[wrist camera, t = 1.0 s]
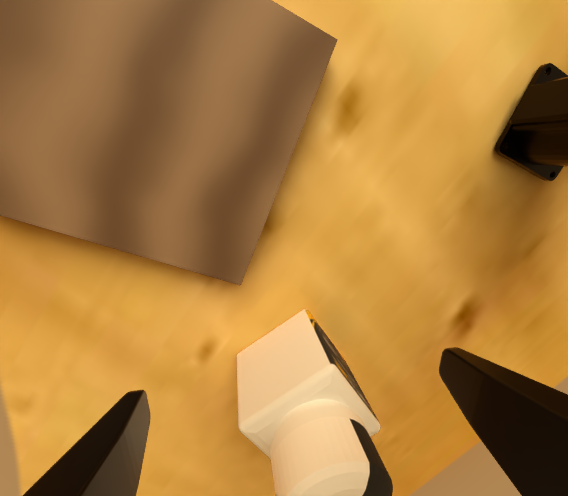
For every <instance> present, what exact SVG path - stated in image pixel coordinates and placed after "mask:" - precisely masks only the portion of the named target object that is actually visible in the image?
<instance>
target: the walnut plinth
mask: <svg viewBox="0 0 568 496" xmlns="http://www.w3.org/2000/svg"><path fill="white" fill-rule="evenodd" d="M336 42H337V39H335V38H334V37H332V36H330V35H329V34H327V33H325V32H324V31H322V30H320V29H319V28H317V27H315V26H314V25H312V24H310V23H309V22H307V21H305V20H304V19H302V18H300V17H299V16H297V15H295V14H294V13H292V12H290V11H289V10H287V9H285V8H284V7H282V6H280V5H279V4H277V3H275V2H274V1H272V0H0V215H1V216H4V217H8V218H11V219H14V220H18V221H21V222H25V223H28V224H32V225H35V226H38V227H42V228H45V229H49V230H52V231H56V232H59V233H63V234H66V235H69V236H73V237H76V238H80V239H83V240H87V241H90V242H93V243H97V244H100V245H104V246H107V247H111V248H114V249H117V250H121V251H124V252H128V253H131V254H135V255H138V256H142V257H145V258H148V259H152V260H155V261H159V262H162V263H166V264H169V265H172V266H176V267H179V268H183V269H186V270H190V271H193V272H196V273H200V274H203V275H207V276H210V277H214V278H217V279H221V280H224V281H227V282H231V283H234V284H238V285H241V283H242V280H243V278H244V275H245V273H246V270H247V268H248V265H249V263H250V260H251V258H252V255H253V253H254V250H255V248H256V245H257V242H258V240H259V237H260V235H261V232H262V230H263V227H264V225H265V222H266V220H267V217H268V215H269V212H270V210H271V207H272V204H273V202H274V199H275V197H276V194H277V192H278V189H279V187H280V184H281V182H282V179H283V177H284V174H285V172H286V169H287V166H288V164H289V161H290V159H291V156H292V154H293V151H294V149H295V146H296V144H297V141H298V139H299V136H300V133H301V131H302V128H303V126H304V123H305V121H306V118H307V116H308V113H309V111H310V108H311V106H312V103H313V101H314V98H315V95H316V93H317V90H318V88H319V85H320V83H321V80H322V78H323V75H324V73H325V70H326V68H327V65H328V63H329V60H330V57H331V55H332V52H333V50H334V47H335V45H336Z"/></svg>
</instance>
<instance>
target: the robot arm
mask: <svg viewBox="0 0 568 496" xmlns="http://www.w3.org/2000/svg"><path fill="white" fill-rule="evenodd" d="M503 145H504V147H503ZM502 147H503V149H502ZM495 151H496V153H498V154H499V155H501V156H503V157H505V158H506V159H508V160H510V161H512V162H513V163H515V164H517V165H519V166H520V167H522V168H524V169H526V170H527V171H529V172H531V173H533V174H534V175H536V176H538V177H539V178H541V179H543V180H546V181H553V180H554V179H555V178H556V177H557V176H558V174H559V172H560V171H561V169H562V168H563V166H568V75H566V74H565V73H564V72H562V71H561V70H560V69H558V68H557V67H556V66H554V65H553V64H551V63H548V64H544V65H542V66H540V67H539V68H538V70H537V72H536V73H535V75H534V77H533V79H532V81H531V82H530V84H529V86H528V88H527V90H526V91H525V93H524V95H523V97H522V99H521V100H520V102H519V104H518V106H517V107H516V109H515V111H514V113H513V115H512V116H511V118H510V120H509V122H508V124H507V125H506V127H505V129H504V131H503V133H502V134H501V136H500V138H499V140H498V142H497V143H496V146H495ZM439 373H440V376H441V378H442V380H443V382H444V383H445V385H446V387H447V388H448V390H449V391H450V393H451V395H452V396H453V398H454V400H455V401H456V403H457V404H458V406H459V408H460V409H461V411H462V413H463V414H464V416H465V417H466V419H467V421H468V422H469V424H470V425H471V427H472V428H473V429H474V431H475V432H476V434H477V435H478V436H479V438H480V439H481V441H482V442H483V443H484V445H485V446H486V447H487V449H488V450H489V451H490V453H491V454H492V456H493V457H494V458H495V460H496V461H497V462H498V464H499V465H500V466H501V468H502V469H503V471H504V472H505V473H506V475H507V476H508V477H509V479H510V480H511V482H512V483H513V484H514V486H515V487H516V488H517V490H518V491H519V492H520V494H521V495H522V496H568V395H567V394H565V393H563V392H560V391H558V390H556V389H553V388H551V387H549V386H546V385H544V384H542V383H539V382H537V381H535V380H532V379H530V378H528V377H525V376H523V375H521V374H518V373H516V372H514V371H511V370H509V369H507V368H504V367H502V366H500V365H497V364H495V363H493V362H490V361H488V360H486V359H483V358H481V357H479V356H476V355H474V354H472V353H469V352H467V351H465V350H462V349H460V348H456V347H454V348H447V349H444V350H443V352H442V357H441V362H440V366H439ZM149 425H150V409H149V404H148V400H147V395H146V392H145V391H144V390H137V391H130V392H128V393H126V394H125V395H124V396H123V397H122V398H121V399H120V400H119V401H118V402H117V403H116V404H115V405H114V406H113V407H112V408H111V409H110V410H109V411H108V412H107V413H106V414H105V415H104V416H103V417H102V418H101V419H100V420H99V421H98V422H97V423H96V424H95V425H94V426H93V427H92V428H91V429H90V430H89V431H88V432H87V433H86V434H85V435H84V436H83V437H81V438H80V439H79V440H78V441H77V442H76V443H75V444H74V445H73V446H72V447H71V448H70V449H69V450H68V451H67V452H66V453H65V454H64V455H63V456H62V457H61V458H60V459H59V460H58V461H57V462H56V463H55V464H54V465H53V466H52V467H51V468H50V469H49V470H48V471H47V472H46V473H45V474H44V475H43V476H42V477H41V478H40V479H39V480H38V481H37V482H36V483H35V484H34V485H33V486H32V487H31V488H30V489H29V490H28V491H27V492H26V493H25V494H24V495H23V496H136V493H137V489H138V484H139V479H140V474H141V469H142V463H143V458H144V452H145V447H146V441H147V436H148V430H149Z"/></svg>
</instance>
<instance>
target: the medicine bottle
mask: <svg viewBox="0 0 568 496" xmlns="http://www.w3.org/2000/svg"><path fill="white" fill-rule="evenodd" d="M237 393H238V427H239V430H240V432H241V433H242V434H244V435H245V436H246V437H247V438H248V439H249V440H250V441H251V442H252V443H253V444H255V445H256V446H257V447H258V448H259V449H260V450H261V451H262V452H263V453H265V454H266V455H267V456H268V457H269V458H270V459H271V464H272V472H273V480H274V487H275V495H276V496H392V492H393V485H392V481H391V478H390V476H389V474H388V472H387V470H386V468H385V466H384V464H383V462H382V460H381V458H380V456H379V454H378V452H377V450H376V448H375V446H374V444H373V442H372V440H371V438H370V437H371V436H373V435H374V434H376V433H377V432H379V430H380V428H381V427H380V423H379V421H378V419H377V418H376V416H375V414H374V412H373V410H372V409H371V407H370V405H369V403H368V401H367V400H366V398H365V396H364V394H363V392H362V390H361V389H360V387H359V385H358V383H357V381H356V380H355V378H354V376H353V374H352V372H351V371H350V369H349V367H348V365H347V363H346V361H345V360H344V358H343V357H342V356H341V354H340V353H339V352H338V350H337V349H336V348H335V346H334V345H333V344H332V342H331V341H330V339H329V338H328V337H327V335H326V334H325V333H324V331H323V330H322V329H321V327H320V326H319V325H318V323H317V322H316V320H315V319H314V318H313V316H312V315H311V314H310V312H309V311H308V310H306V309H304V310H302V311H300V312H299V313H297V314H296V315H294V316H293V317H291V318H290V319H288V320H287V321H285V322H284V323H282V324H281V325H279V326H278V327H276V328H275V329H273V330H272V331H270V332H269V333H267V334H266V335H265V336H263V337H262V338H260V339H259V340H257V341H256V342H254V343H253V344H251V345H250V346H248V347H247V348H245V349H244V350H242V351H241V352H239V353H238V354H237Z"/></svg>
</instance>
